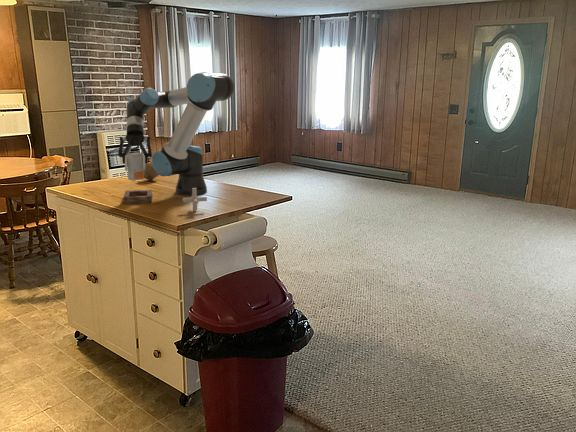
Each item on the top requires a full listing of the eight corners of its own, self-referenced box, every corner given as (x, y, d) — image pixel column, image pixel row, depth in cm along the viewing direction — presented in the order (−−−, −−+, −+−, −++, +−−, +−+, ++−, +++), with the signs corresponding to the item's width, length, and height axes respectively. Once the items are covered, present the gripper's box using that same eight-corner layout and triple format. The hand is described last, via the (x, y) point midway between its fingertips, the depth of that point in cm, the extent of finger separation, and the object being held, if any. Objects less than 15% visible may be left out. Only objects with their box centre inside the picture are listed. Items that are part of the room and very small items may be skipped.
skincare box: (133, 181, 225) (132, 154, 222) (127, 179, 228) (126, 153, 224) (144, 179, 230) (143, 153, 227) (139, 177, 232) (137, 151, 229)
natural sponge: (162, 179, 277) (161, 161, 274) (156, 182, 268) (155, 164, 266) (146, 178, 278) (145, 160, 275) (140, 181, 269) (138, 163, 267)
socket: (152, 196, 239) (152, 189, 238) (151, 203, 226) (151, 196, 225) (126, 196, 236) (125, 190, 235) (123, 204, 223) (123, 197, 222)
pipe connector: (208, 213, 211) (207, 190, 208) (184, 214, 208) (183, 191, 206) (205, 207, 220) (204, 185, 218) (182, 208, 218) (181, 186, 215)
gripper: (157, 133, 240) (158, 173, 229) (113, 133, 236) (112, 174, 225) (156, 123, 234) (158, 163, 223) (111, 123, 229) (110, 164, 218)
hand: (135, 168), depth 224 cm, fingers closed on skincare box, 7 cm apart
